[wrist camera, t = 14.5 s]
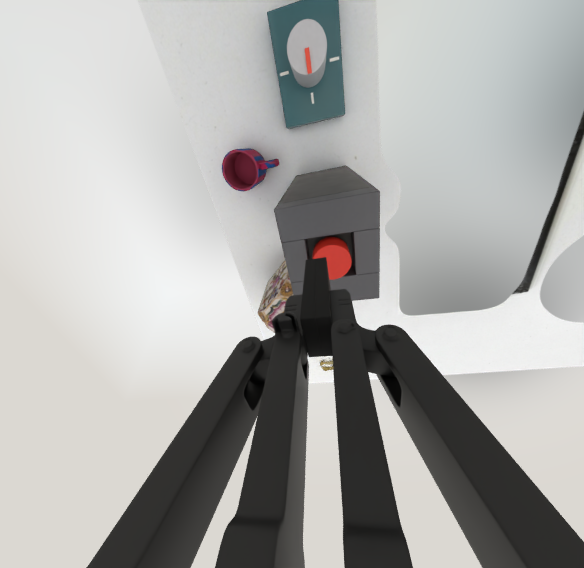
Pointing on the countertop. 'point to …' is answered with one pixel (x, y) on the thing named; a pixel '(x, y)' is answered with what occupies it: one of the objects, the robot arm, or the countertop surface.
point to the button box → (332, 227)
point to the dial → (307, 52)
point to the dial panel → (329, 91)
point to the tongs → (327, 367)
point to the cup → (245, 168)
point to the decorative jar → (275, 296)
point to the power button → (334, 256)
